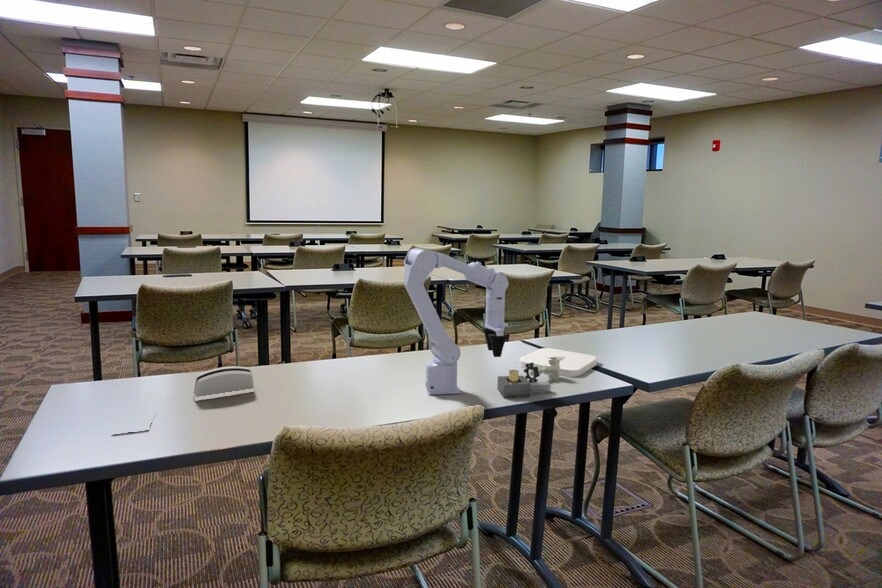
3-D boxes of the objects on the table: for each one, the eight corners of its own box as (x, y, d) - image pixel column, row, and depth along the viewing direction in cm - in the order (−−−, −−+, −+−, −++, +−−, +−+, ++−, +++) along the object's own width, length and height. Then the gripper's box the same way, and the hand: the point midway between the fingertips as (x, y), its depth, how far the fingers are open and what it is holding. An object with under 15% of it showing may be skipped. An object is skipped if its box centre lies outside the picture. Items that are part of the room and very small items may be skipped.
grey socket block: (503, 398, 161) (503, 384, 160) (497, 389, 169) (497, 376, 168) (553, 396, 163) (553, 382, 162) (544, 387, 171) (545, 374, 170)
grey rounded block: (251, 387, 170) (252, 360, 166) (255, 396, 166) (255, 369, 162) (192, 396, 162) (191, 368, 157) (194, 406, 158) (193, 378, 154)
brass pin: (510, 392, 164) (511, 372, 163) (507, 389, 166) (507, 370, 165) (519, 391, 164) (520, 372, 163) (516, 388, 167) (516, 369, 166)
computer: (515, 367, 192) (515, 360, 192) (543, 354, 210) (543, 347, 210) (575, 379, 180) (575, 371, 179) (599, 363, 197) (600, 356, 197)
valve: (550, 374, 184) (523, 380, 178) (551, 355, 183) (523, 360, 177) (565, 379, 179) (537, 386, 172) (565, 359, 178) (537, 365, 171)
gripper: (513, 314, 163) (512, 359, 166) (502, 305, 178) (501, 346, 180) (490, 315, 162) (489, 360, 165) (480, 306, 177) (480, 347, 179)
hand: (494, 353), depth 172 cm, fingers open, 7 cm apart
